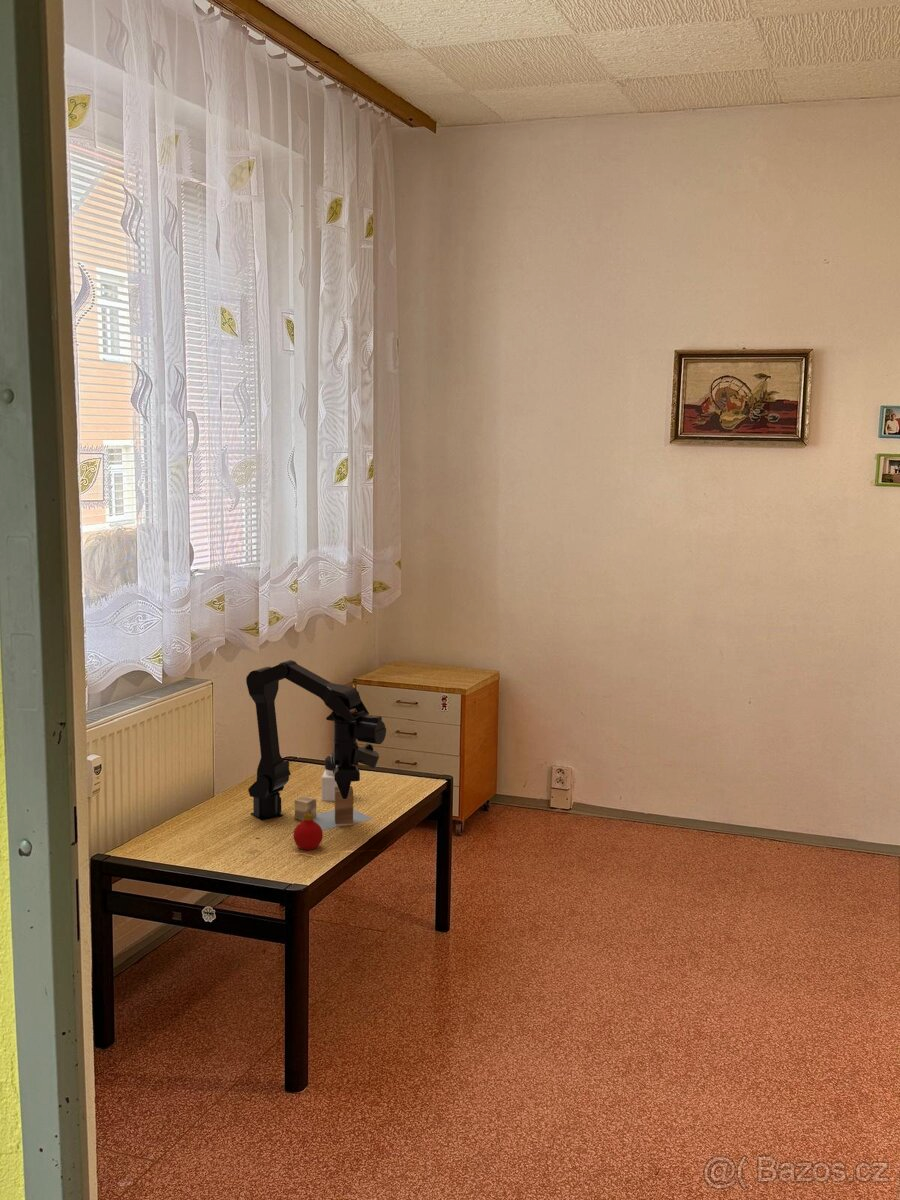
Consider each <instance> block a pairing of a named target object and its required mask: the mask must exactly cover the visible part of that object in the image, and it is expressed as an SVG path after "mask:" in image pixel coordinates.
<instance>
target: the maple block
mask: <svg viewBox="0 0 900 1200" xmlns="http://www.w3.org/2000/svg"><path fill="white" fill-rule="evenodd" d="M307 810H308V811H307ZM306 811H307V814H310V811H311V814H312V815H313V816H312V819H313V818H315V817H316V814H317V798H315V797H309V796H306V795H304V796H301V797H298V798H296V799H294V819H295V820H299V821H301V820H303V821H304V815H305V814H306ZM303 821H302V822H303Z"/></svg>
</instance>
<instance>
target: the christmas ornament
mask: <svg viewBox="0 0 900 1200" xmlns="http://www.w3.org/2000/svg"><path fill="white" fill-rule="evenodd" d="M307 811H308V810H307ZM307 811H306V814H305V815H304V821H300V822H299V823H298V824H297V825H296V827H295V828H294V830H293V841H294V844H296V846H297V847H298V848H300V849H301V850H305V851H312V850H314V849H316V848H318V847H319V846H320V844H321V843H322V841H323V839H324V838H323V837H324V833H323V832H324V831H322V829H321V827H320V826H319V825H318V824H317V823H316V822H314V821H313V819H312V816H313V815H312V814H311V811H310V814H307Z"/></svg>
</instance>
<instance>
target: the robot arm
mask: <svg viewBox="0 0 900 1200" xmlns="http://www.w3.org/2000/svg"><path fill="white" fill-rule="evenodd" d="M284 679H286V680H288V682H291V683H292V684H294V685H297V686H298V687H300V688H302V689H303V690H305V691H306V692H309V693H311V694H313V695H314V696H316V697H317V698H319V699H321V700H322V702H323V703H324V705H325V706H326V707H327V708H329V709H330V711H331V713H330V714H329V715H327V717H326V719H325V720H326V721H331V722H333V752H332V753H331V754H330V755H331V763H332V764H334V765H336V768H333V775H334V780H335V781H336V783H337V785H338V788H339V790H340V793H341V796H342V798H343V799H347V797H348V793H349V789H350V786H351V784H352V782H360V781H361V772H360V769H359V768H358V767H357V766H359V764H362V765H364V766H367V767H369V768H371V769H375V768H376V766H377V765H378V761H379V758H380V755H379V752H377V750H374V745H373V744H376V745H381V744H382V743H383V742H384V741H385V738H386V735H387V728H386V724H385V723H384V721H382V720H383V717H382V716H380V715H379V716H378V715H375V716H374V715H370V712H369V711H368V709H367V708H366V706H365V703H364V702H363V701H362V699H361V696H360V691H358V690H357V689H355V688H353V687H350V686H348V685H344V684H338V683H334V682H331V681H329V680H327V679H325V678H323V677H322V676H320V675H318V674H316V673H315V672H312V671H311V670H309V669H307V668H305V667H304V666H302V665H300V664H298V663H297V662H296V661H295V660H292V659H291V660H289V659H288V660H286V661H283V662H280V663H279V664H277V665H275V666H273V667H272V666H265V667H261V668H258V669H255V670H251V671H250V672H249V673H248V674H247V676H246V679H245V680H246V681H245V683H246V687H247V691H248V695H249V696H250V697H251V699H252V700H253V702H254V704H255V712H256V722H257V729H258V730H257V731H258V741H259V749H260V751H259V752H260V760H259V763H258V766H257V768H256V780H255V782H253V784H252V785H250V786H249V787H248V789H247V790H248V794H249V796H250V797H251V798H253V800H252V801H253V803H252V804H253V808H252V809H253V812H250V815H251V816H252V817H254V818H256V819H258V820H260V821H267V820H271V819H276V818H280V817H284V814H283V813H282V797H281V792H282V791H284V788H285V785H287V784H288V782H289V779H290V776H291V775H292V774H291V771H290V762H289V760H287V759H286V760H284V759H283V757H282V755H281V753H280V742H279V733H278V732H279V731H278V723H277V713H276V702H275V701H276V697H277V695H278V692H279V687H280V686H279V682H280V681H281V680H284ZM358 742H360V743H366V744H365V745H364V746H359V744H358Z"/></svg>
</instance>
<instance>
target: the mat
mask: <svg viewBox="0 0 900 1200" xmlns="http://www.w3.org/2000/svg"><path fill="white" fill-rule="evenodd" d="M373 819H374V817H370V816H369V815H367V814H365V813H362V812H360V811H358V810H356V809H354V808H353V825H354V824H357V823H363V822H366V821H370V820H373ZM313 821H314V822H316V823H317V824H318V825H319V826H320V827H321V829H322V832H324V831H325V832H326V831H328V830H332V829H336V828H340V827H342V826H336V825H335V809H332V810H327V811H323V812H318V813H316V817H315V818H313ZM300 822H303V820H300ZM345 826H346V825H344V826H343V827H345Z"/></svg>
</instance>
